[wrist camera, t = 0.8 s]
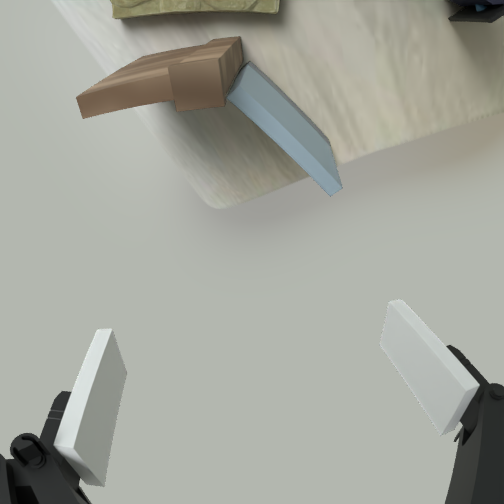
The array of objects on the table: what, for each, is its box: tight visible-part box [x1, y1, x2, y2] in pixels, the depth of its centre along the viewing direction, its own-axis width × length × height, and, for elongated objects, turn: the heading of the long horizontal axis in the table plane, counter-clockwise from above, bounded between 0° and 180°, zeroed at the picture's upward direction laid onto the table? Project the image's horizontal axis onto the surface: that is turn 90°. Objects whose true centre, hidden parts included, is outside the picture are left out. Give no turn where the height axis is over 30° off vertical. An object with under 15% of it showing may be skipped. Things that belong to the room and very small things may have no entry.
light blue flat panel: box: [227, 61, 342, 196], centre depth 30 cm, size 13×2×11 cm, turn 45°
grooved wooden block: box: [76, 36, 243, 119], centre depth 25 cm, size 3×12×16 cm, turn 95°
